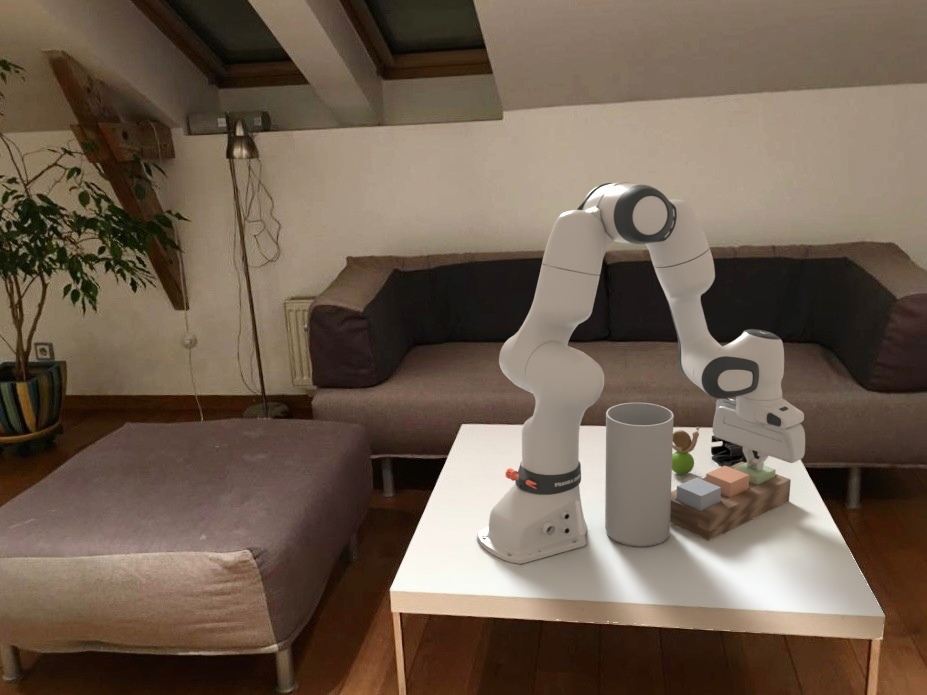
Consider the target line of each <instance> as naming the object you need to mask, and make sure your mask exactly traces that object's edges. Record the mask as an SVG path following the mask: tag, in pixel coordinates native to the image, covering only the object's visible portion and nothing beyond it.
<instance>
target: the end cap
mask: <svg viewBox="0 0 927 695" xmlns="http://www.w3.org/2000/svg"><path fill="white" fill-rule="evenodd" d="M718 442H722V443H721V444H720V445H714V446H710V454H711V455H712V456H711V460H712V461H713V462H714V463H716V464H717V465H719V467H723V466H727V467H730V466H733V465H735V464H737V463H740V462H745V463H747V459H746V457H745V455H744V453H743V451H742V450H743V446H740V445H737V444H734V443H731V442H728V441H725V440H723V439H720V438H717V437H715V436H714V435H712V436H711V443H718ZM752 452H753V455H754V457H755V459H759V458H760V457H759V456H758V452H757V451H754V450H752Z"/></svg>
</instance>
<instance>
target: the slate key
mask: <svg viewBox="0 0 927 695" xmlns="http://www.w3.org/2000/svg"><path fill="white" fill-rule="evenodd" d="M676 489H677V496H676V500H677V501H679V502H681V503H683V504H686V505H688V506H690V507H692V508H695V509H697V510H699V511H702V510H705V509H707V508H709V507H711V506H713V505H716V504H718V503H720V498H721V487H719V486H716V485H714V484H711V483H709V482H706V481H704V480H702V478H699V477H695V478H694V477H693V479H689V480H688V481H685V482H683V483H680V484H678V485H676Z"/></svg>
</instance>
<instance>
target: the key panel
mask: <svg viewBox="0 0 927 695" xmlns="http://www.w3.org/2000/svg"><path fill="white" fill-rule="evenodd" d="M744 463H745V462H740V463H737V464H735V465H733V466H730V468H733V469H734V468H735V467H737V466H740V465H742V464H744ZM701 479H702V480H704V481H706V476H705V477H703V478H701ZM791 482H792V479H791V478H787V477H785V476H782V475H779V474H777V473H775V477H774V478H772V479H770V480H768V481H766V482H763V483H761V484H759V485H757V484H754V483H751V482H749V489H748V490H746V491H744V492H742V493H740V494H737V495H735V496H733V497H731V498H730V497H727V496H725V495H722V494H721V498H720V503H718V504H716V505H713V506H711V507H709V508H707V509H705V510H702V511H699V510H697V509H695V508H692V507H690V506H688V505H686V504H683V503H681V502H679V501H677V500H676V496H677V488H676V489H674V490H671V510H670V524H672V525H675V526H677V527H679V528H680V529H683V530H684V531H687V532H689V533H691V534H693V535H696V536H697V537H700V538H701V539H704V540H706V541H708V542H709V541H712V540H714V539H715V538H717V537H720V536H721V535H724V534H726V533H727V532H730V531H732V530H733V529H736V528H738V527H740V526H742V525H743V524H744V525H745V523H747V522H750V521H751V520H755V519H756V518H758V517H760V516H762V515H764V514H766V513H768V512H771V511H772V510H774V509H776V508H778V507H780V506H782V505H785V504H786V503H788V502H789V501H790V494H791Z"/></svg>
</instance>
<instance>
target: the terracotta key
mask: <svg viewBox="0 0 927 695" xmlns="http://www.w3.org/2000/svg"><path fill="white" fill-rule="evenodd" d="M705 477H706V482H709V483H711V484H714V485H716V486H719V487H721V494H722V495H725V496H727V497H730V498H731V497H733V496H735V495H737V494H740V493H742V492H744V491H746V490H748V489H749V474H746V473H743V472H741V471H738V470H735V469H733V468H730V467H727V466H723V467H721V466H719V467H717V468H716V469H714V470H711V471H708V472H707V473H706V474H705Z"/></svg>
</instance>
